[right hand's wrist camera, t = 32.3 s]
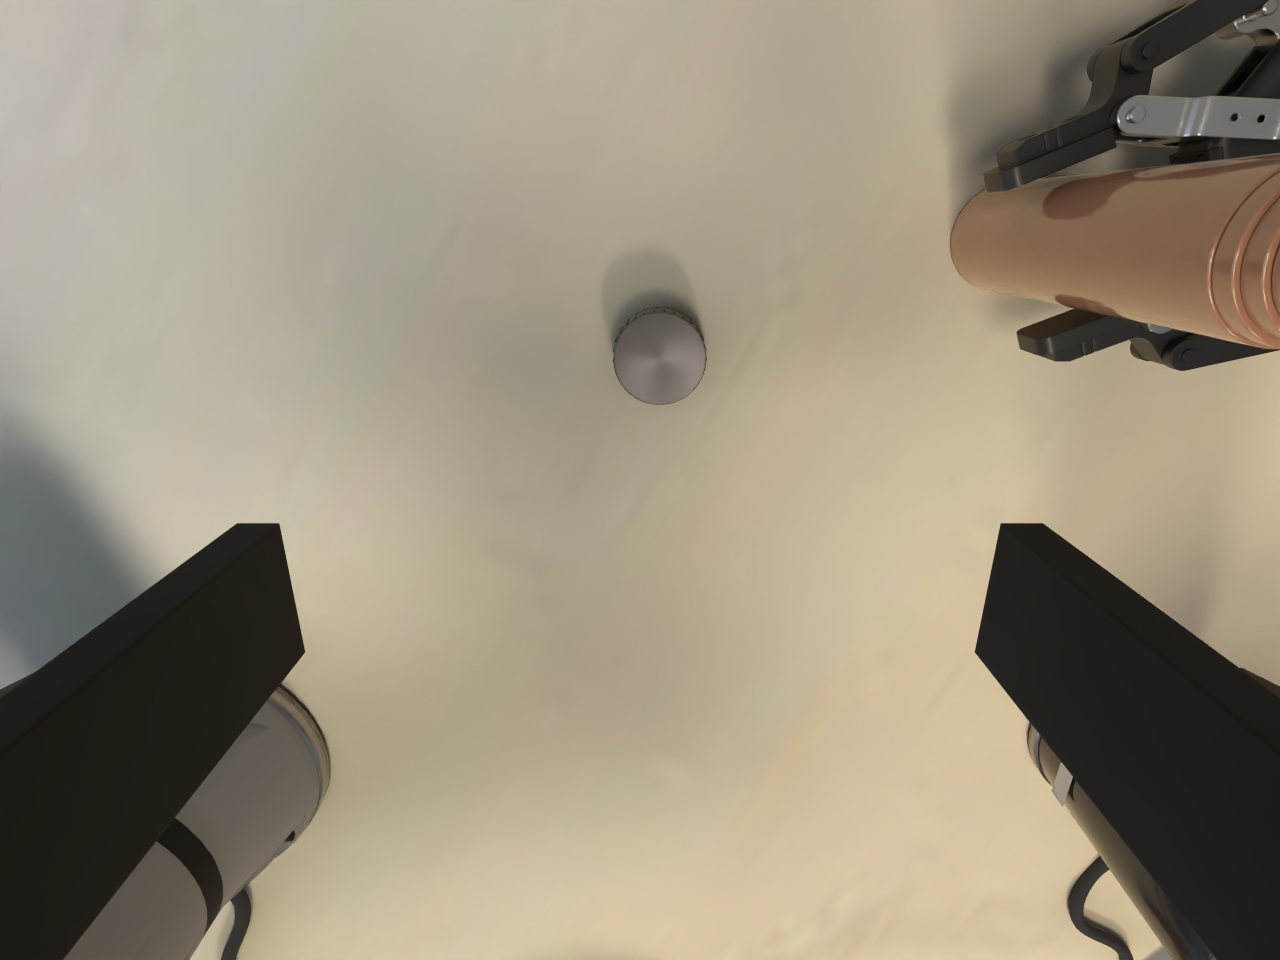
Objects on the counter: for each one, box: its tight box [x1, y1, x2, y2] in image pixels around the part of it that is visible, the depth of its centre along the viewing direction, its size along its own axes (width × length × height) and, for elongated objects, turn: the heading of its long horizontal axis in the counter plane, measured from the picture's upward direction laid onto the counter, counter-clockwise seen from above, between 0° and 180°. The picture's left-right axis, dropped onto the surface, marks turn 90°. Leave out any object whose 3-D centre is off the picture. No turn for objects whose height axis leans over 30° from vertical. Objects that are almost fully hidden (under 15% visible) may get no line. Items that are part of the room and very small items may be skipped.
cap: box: [613, 307, 707, 405], centre depth 33 cm, size 4×4×2 cm
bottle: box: [951, 153, 1280, 349], centre depth 22 cm, size 5×5×22 cm
